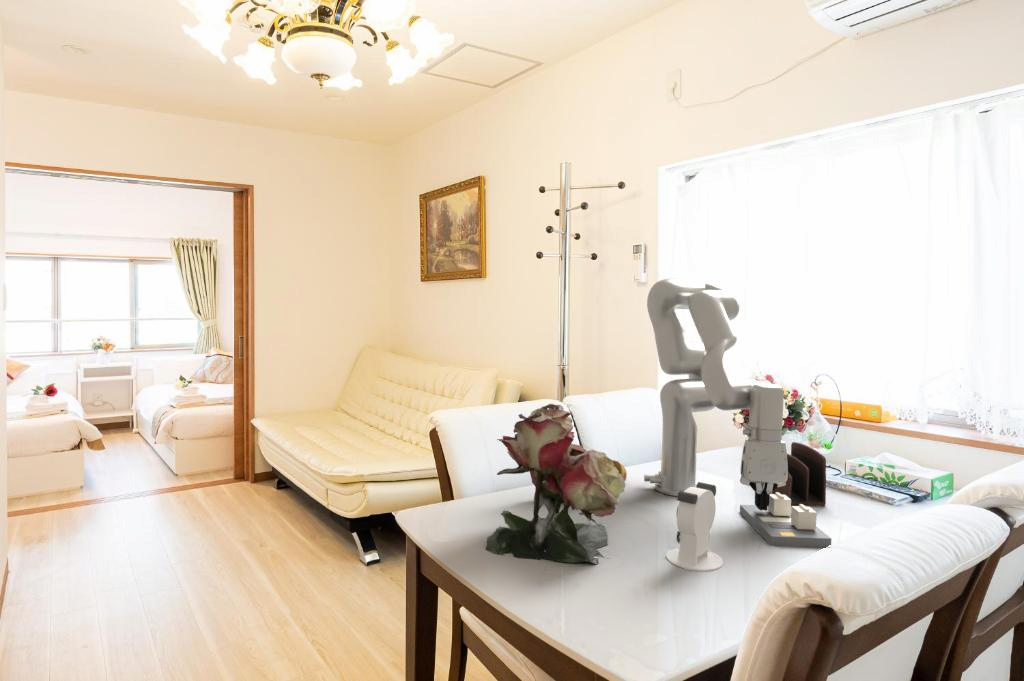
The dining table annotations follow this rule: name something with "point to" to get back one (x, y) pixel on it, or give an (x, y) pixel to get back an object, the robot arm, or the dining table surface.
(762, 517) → the switch panel
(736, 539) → the dining table surface
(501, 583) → the dining table surface
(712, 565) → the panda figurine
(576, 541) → the rose bouquet
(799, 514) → the switch tab
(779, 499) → the switch tab
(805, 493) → the letter holder
